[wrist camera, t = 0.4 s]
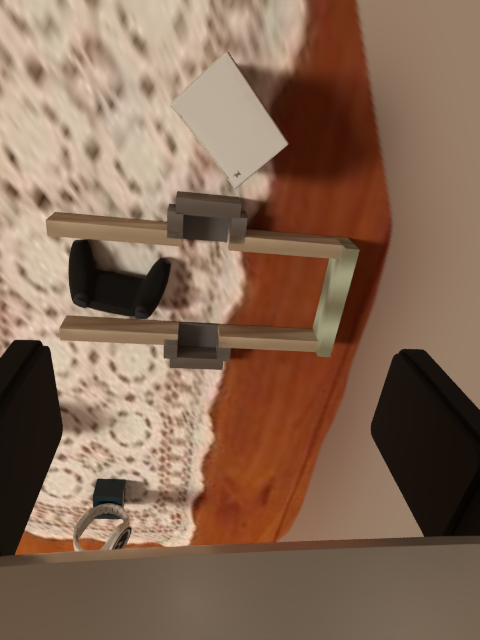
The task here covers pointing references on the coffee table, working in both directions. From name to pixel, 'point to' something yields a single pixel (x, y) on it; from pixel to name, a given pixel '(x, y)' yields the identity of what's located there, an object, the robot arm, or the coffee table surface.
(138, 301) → the gaming controller
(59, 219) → the channel
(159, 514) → the coffee table surface
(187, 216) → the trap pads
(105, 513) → the watch
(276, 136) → the small box
